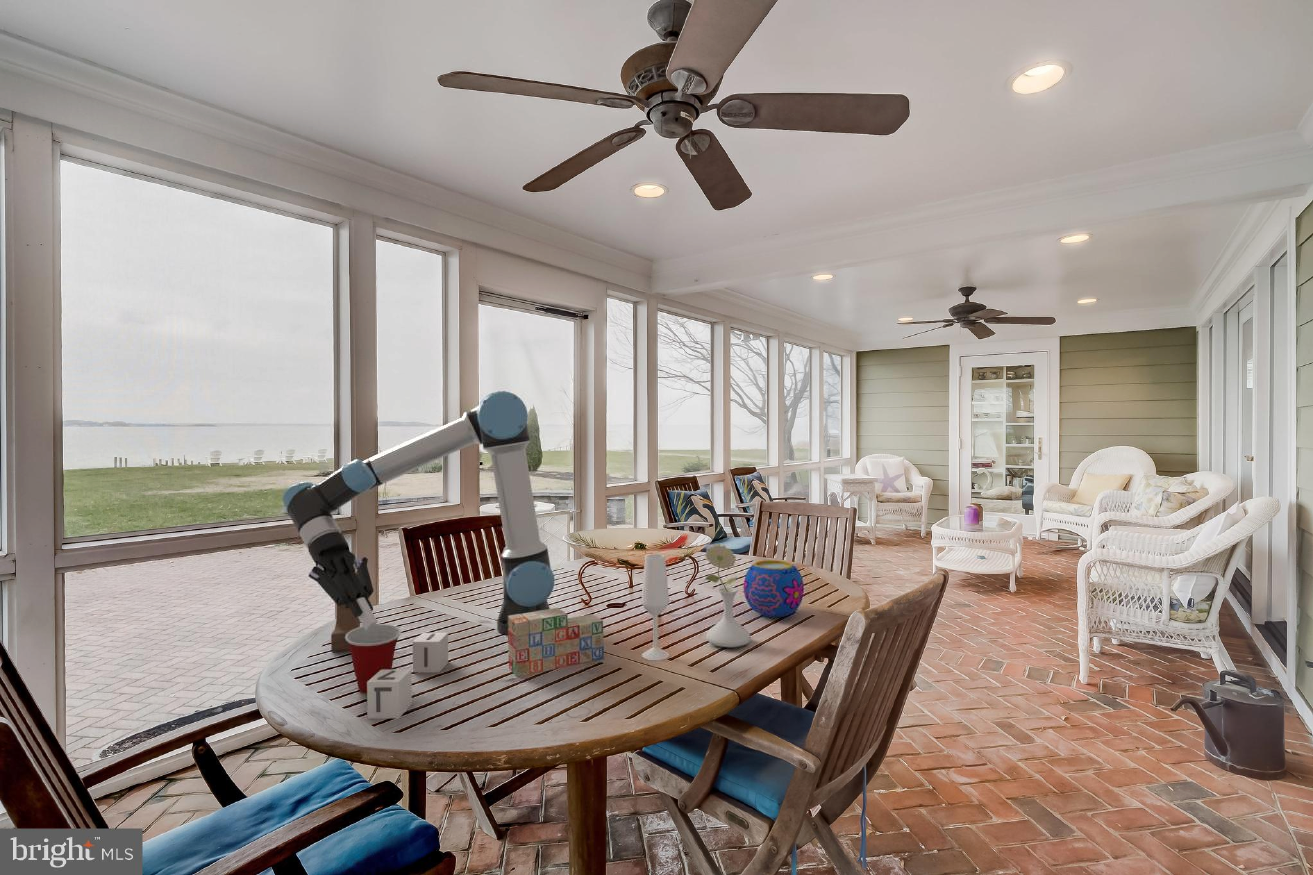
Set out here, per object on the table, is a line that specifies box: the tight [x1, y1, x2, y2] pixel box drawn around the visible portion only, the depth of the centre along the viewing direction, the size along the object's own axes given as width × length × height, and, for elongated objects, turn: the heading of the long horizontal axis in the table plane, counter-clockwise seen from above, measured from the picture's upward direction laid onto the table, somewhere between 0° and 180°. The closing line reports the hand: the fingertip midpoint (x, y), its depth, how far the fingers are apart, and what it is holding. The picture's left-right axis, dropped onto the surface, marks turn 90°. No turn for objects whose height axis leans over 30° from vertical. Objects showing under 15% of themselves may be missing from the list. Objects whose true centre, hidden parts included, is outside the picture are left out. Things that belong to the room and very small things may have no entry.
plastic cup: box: [345, 623, 402, 694], centre depth 129 cm, size 11×11×12 cm
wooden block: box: [330, 570, 361, 652], centre depth 155 cm, size 9×4×18 cm, turn 12°
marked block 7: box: [366, 668, 413, 719], centre depth 118 cm, size 6×6×7 cm
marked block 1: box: [412, 632, 449, 673], centre depth 140 cm, size 6×6×7 cm
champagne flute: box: [641, 553, 670, 661], centre depth 147 cm, size 7×7×24 cm
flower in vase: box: [704, 543, 752, 648], centre depth 155 cm, size 13×11×25 cm
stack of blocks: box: [507, 607, 605, 677], centre depth 142 cm, size 21×6×12 cm, turn 119°
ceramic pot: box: [742, 559, 805, 618], centre depth 178 cm, size 18×18×15 cm
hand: (371, 626), depth 129 cm, fingers closed
